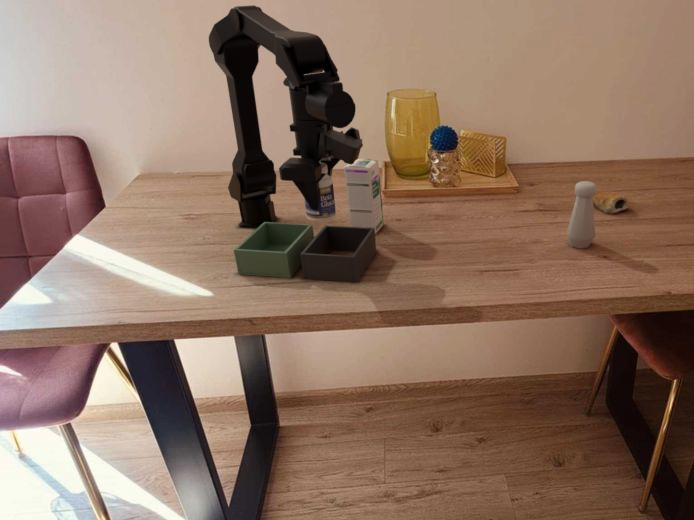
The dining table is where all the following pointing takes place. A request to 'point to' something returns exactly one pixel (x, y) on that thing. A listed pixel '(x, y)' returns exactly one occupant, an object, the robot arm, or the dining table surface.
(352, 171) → the syrup box
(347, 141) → the robot arm
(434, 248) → the dining table surface
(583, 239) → the salt shaker
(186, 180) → the dining table surface
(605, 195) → the pastry
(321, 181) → the pill bottle
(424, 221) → the dining table surface
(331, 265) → the charcoal crate
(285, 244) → the green bin
